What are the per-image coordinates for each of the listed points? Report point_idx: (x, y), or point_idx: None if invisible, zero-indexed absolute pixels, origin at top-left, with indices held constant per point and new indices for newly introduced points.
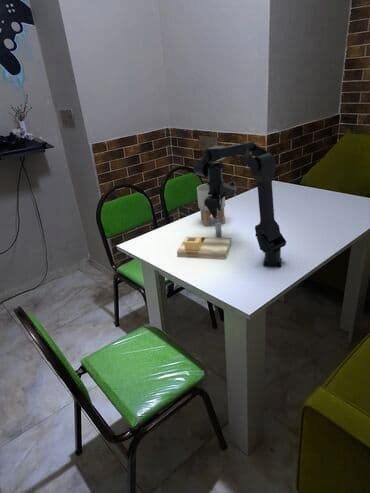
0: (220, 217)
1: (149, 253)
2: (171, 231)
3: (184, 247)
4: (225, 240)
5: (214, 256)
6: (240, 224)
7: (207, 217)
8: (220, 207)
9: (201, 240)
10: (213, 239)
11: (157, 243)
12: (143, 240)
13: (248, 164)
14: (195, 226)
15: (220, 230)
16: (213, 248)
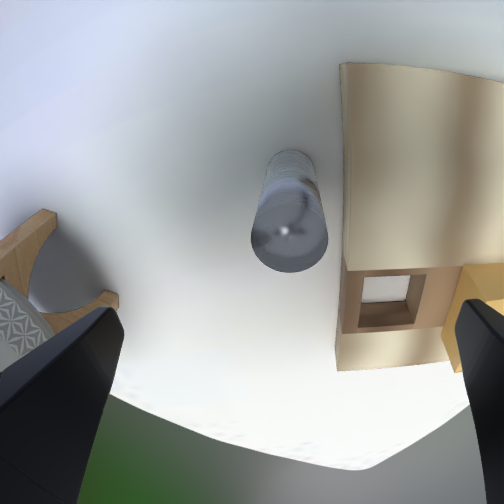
0: (32, 250)
1: (430, 414)
2: (228, 413)
3: None
4: (402, 105)
5: None
6: (29, 108)
7: None
8: (89, 339)
9: (480, 285)
10: (389, 207)
11: (351, 423)
12: (323, 452)
13: None
14: (140, 345)
15: (305, 179)
16: None
